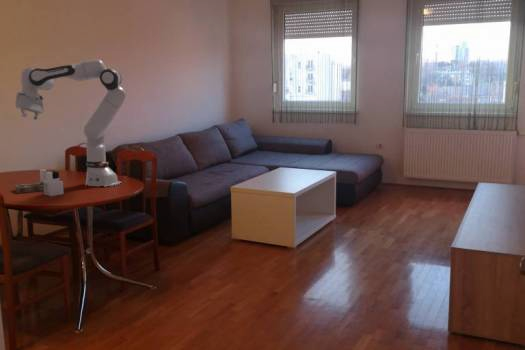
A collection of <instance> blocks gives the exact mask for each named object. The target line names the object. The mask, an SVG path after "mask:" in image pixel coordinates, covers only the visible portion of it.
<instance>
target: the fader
mask: <svg viewBox="0 0 525 350" xmlns="http://www.w3.org/2000/svg"><path fill="white" fill-rule="evenodd" d="M47 172H48V171H47V169H46V168H45V169H39V177H40V178H39V179H40V180H39V182H38V183H40V184H43V181H47V176H46V173H47Z"/></svg>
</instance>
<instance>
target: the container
mask: <svg viewBox="0 0 525 350" xmlns="http://www.w3.org/2000/svg"><path fill="white" fill-rule="evenodd" d="M46 176H47V181H43V184H44V191H43V195H45V196H48V197H49V196H50V197H56V196H60V195H64V181H63V180H60V172H59V171H57V170H51V171H47V173H46Z"/></svg>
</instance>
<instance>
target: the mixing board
mask: <svg viewBox="0 0 525 350" xmlns="http://www.w3.org/2000/svg"><path fill="white" fill-rule="evenodd" d="M14 190H15V192H17V193H18V194H28V193H35V192H44V184H40V183H39V182H32V183H21V184H14Z"/></svg>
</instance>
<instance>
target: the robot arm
mask: <svg viewBox="0 0 525 350" xmlns="http://www.w3.org/2000/svg"><path fill="white" fill-rule="evenodd" d="M61 78H67V79H72V80H74V81H78V82H83V81H85V82H86V81H89V80H92V79H99V80H100V83H101V84H102V85H103V86H104V87H105V89H106V90H107V92H106V94H105V96H104V97H103V99H102V100H101V102H100V103H99V105H98V107H97V108H96V110H95V111H94V112H93V114H92V115H91V116H90V118H89V119H88V121H87V123H86V124H85V125H84V128H83V133H84V135H85V137H86V138H87V139H86V163H85V164H86V167H87V168H86V178H85V180H86V181H85V183H84V184H85V186H87V185H88V187H89V186H90V187H100V186H104V187H103V188H108V187H107V186H110V187H114V185H115V186H119V185H121V184H122V181H118V175H117V173H116V172H114V171H113V170H112V169H111V168H110V167H109V163H110V162H109V161H107V158H106V135H107V134H106V133H107V132H106V130H107V128H108V127H109V125H110V124H111V122H112V121H113V120H114V118H115V117H116V115H117V114H118V112H119V110H121V109H120V108H121V107H122V105H123V103H124V101H125V99H126V96H127V92H126V91H125V89H124V88H123V87H122V86H120V85H121V83H122V79H123V78H122V75H121V74H120V72H119V71H117V70H115V69H111V68H107V67H106V66H105V63H104V62H103V61H102V60H101V59H97V58H96V59H87V60H84V61H79V62H76V63H72V64H67V65H66V64H65V65H61V66H55V67H51V68H32V67H29V68H24V69H23V70H22V72H21V78H20V79H21V80H20V81H21V82H20V83H21V92H18V93H17V94H16V98H15V108H16V109H20V112H21V114H22V115H21V116H22V117H23V118H26V117H27V113H26V111H28V112H31V113H34V116H33V121H34V120H35V121H37V120H39V119H38V118H39V116H40V114H43V113H44V112H45V109H44V108H45V104H44V97H43V96H42V95H41V94H40V93H39V92H38V90H41V91H49V90H51V89H52V88H53V87H54V86H55V80H56V79H61ZM120 183H121V184H120ZM118 184H119V185H118Z"/></svg>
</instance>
